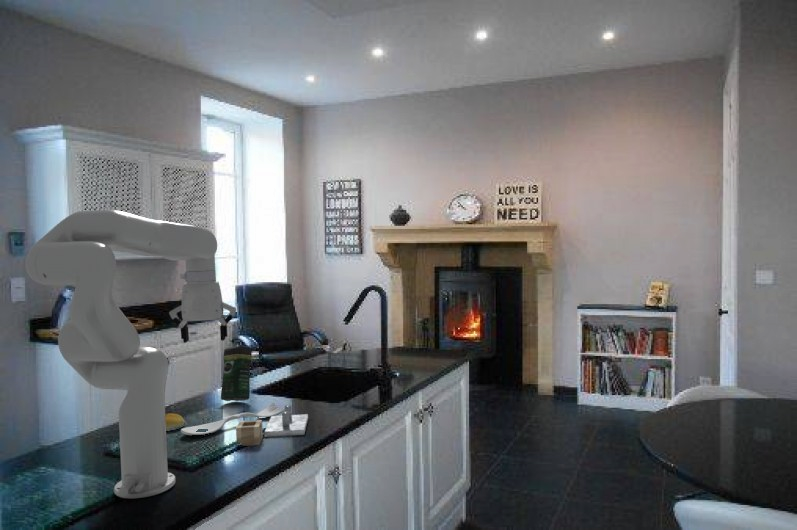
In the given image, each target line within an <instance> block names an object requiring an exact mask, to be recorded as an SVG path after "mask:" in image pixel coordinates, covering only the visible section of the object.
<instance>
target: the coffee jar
mask: <svg viewBox="0 0 797 530" xmlns="http://www.w3.org/2000/svg"><path fill="white" fill-rule="evenodd" d="M252 354H253V353H252V348H251V347H250V346H247V345H235V346H230V347H229V346H228V347H226V348H225V349H224V352H223V357H222V358H223V359H222V360H223V374H222V383H221V389H220V390H221V391H220V400H222V401H225V402H231V401H236V402H241V401H242V402H243V401H248V400H249V399H250V395H251V394H250V393H251V392H250V391H251V389H250V385H251V384H250V383H251V381H250V380H251V379H250V374H251V373H250V371H251V369H250V368H251V362H252Z"/></svg>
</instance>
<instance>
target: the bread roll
mask: <svg viewBox="0 0 797 530" xmlns="http://www.w3.org/2000/svg"><path fill="white" fill-rule="evenodd" d="M165 421H166V429H169V428H175V427H179V426H181V425H183V424H184V423H185V424H186V421H185V419H184V417H183V416H181V415H180V414H178V413H165Z"/></svg>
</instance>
